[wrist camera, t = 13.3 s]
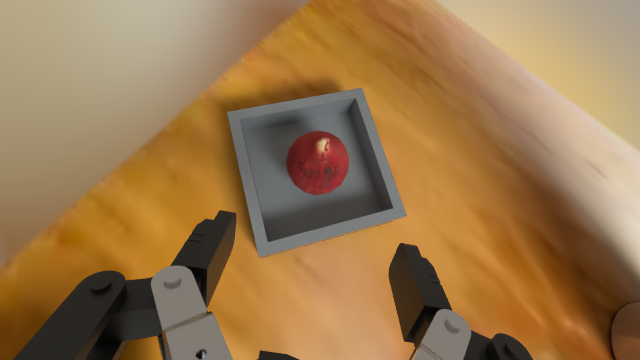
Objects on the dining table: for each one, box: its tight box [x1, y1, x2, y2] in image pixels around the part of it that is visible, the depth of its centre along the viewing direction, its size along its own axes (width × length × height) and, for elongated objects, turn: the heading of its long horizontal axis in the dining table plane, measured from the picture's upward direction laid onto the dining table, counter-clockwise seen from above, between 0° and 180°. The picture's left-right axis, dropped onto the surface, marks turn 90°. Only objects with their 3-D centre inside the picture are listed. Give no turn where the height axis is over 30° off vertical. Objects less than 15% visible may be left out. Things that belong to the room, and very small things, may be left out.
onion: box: [286, 131, 349, 195], centre depth 26 cm, size 6×6×8 cm
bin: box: [227, 88, 407, 258], centre depth 29 cm, size 14×14×4 cm
